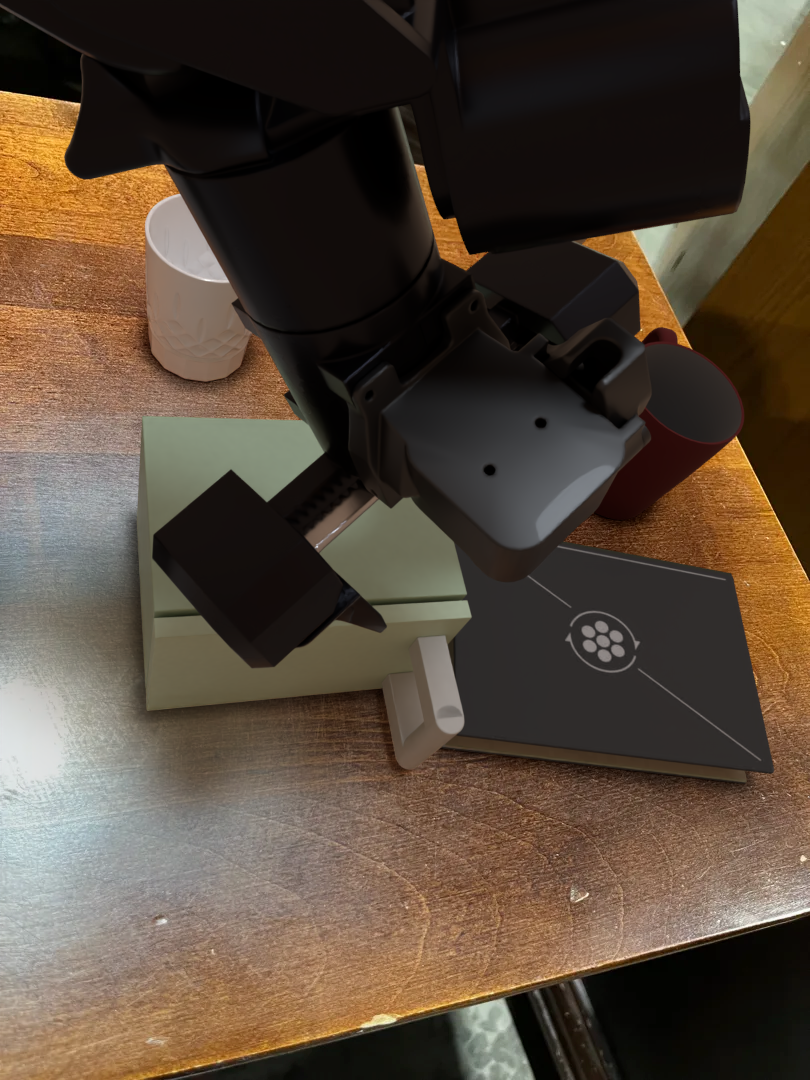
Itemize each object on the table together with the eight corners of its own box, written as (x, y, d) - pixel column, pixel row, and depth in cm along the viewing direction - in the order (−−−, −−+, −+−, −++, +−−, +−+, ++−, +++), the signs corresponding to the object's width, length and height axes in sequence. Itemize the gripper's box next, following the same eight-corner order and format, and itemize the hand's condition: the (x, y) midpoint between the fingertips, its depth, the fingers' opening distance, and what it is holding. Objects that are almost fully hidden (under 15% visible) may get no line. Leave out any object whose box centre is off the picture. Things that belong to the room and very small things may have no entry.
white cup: (236, 403, 57) (257, 299, 49) (124, 367, 55) (126, 253, 47) (264, 326, 61) (287, 219, 53) (160, 291, 60) (168, 175, 51)
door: (428, 771, 48) (497, 717, 39) (151, 809, 42) (161, 756, 34) (408, 670, 50) (467, 599, 42) (145, 693, 45) (153, 617, 36)
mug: (549, 395, 67) (618, 297, 58) (644, 419, 69) (724, 327, 60) (558, 516, 61) (636, 427, 52) (662, 538, 63) (755, 456, 54)
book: (707, 587, 62) (732, 569, 59) (745, 784, 54) (775, 773, 51) (438, 538, 56) (453, 516, 54) (438, 748, 49) (455, 734, 46)
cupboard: (406, 667, 51) (467, 594, 42) (145, 690, 45) (153, 611, 36) (375, 516, 56) (424, 423, 47) (136, 520, 50) (141, 415, 41)
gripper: (227, 673, 16) (421, 847, 29) (808, 146, 20) (754, 504, 32) (19, 423, 22) (253, 656, 35) (491, 57, 26) (549, 387, 39)
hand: (454, 551), depth 35 cm, fingers open, 9 cm apart
